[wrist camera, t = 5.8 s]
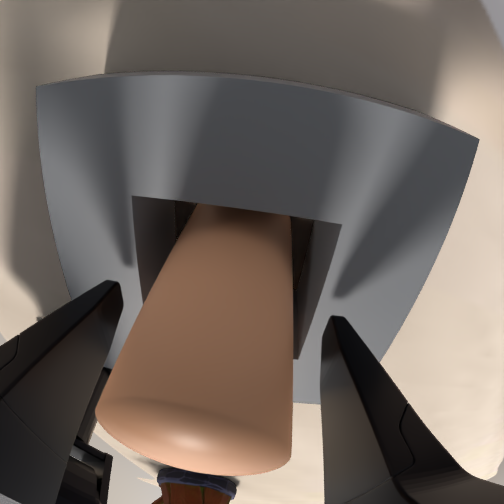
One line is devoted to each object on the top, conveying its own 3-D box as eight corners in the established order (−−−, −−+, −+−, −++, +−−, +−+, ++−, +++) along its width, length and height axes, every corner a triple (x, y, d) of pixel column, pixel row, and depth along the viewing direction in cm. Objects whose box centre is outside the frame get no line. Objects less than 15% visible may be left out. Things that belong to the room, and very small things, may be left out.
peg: (282, 272, 14) (272, 482, 6) (192, 259, 14) (120, 452, 6) (299, 188, 12) (317, 421, 4) (194, 174, 12) (68, 371, 4)
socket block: (342, 342, 16) (349, 405, 13) (124, 308, 16) (95, 364, 13) (422, 112, 9) (479, 139, 6) (103, 73, 10) (36, 86, 6)
